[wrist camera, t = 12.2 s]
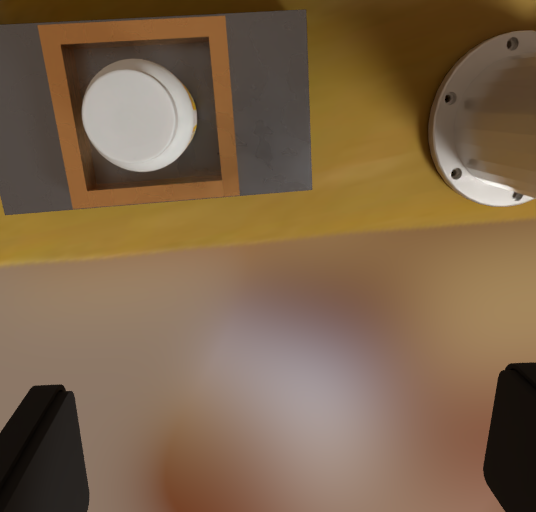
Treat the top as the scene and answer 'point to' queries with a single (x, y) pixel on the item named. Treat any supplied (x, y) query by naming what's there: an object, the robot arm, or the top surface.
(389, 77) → the top surface
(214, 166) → the gray brown rimmed box
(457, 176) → the robot arm
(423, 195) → the top surface
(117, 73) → the supplement bottle
